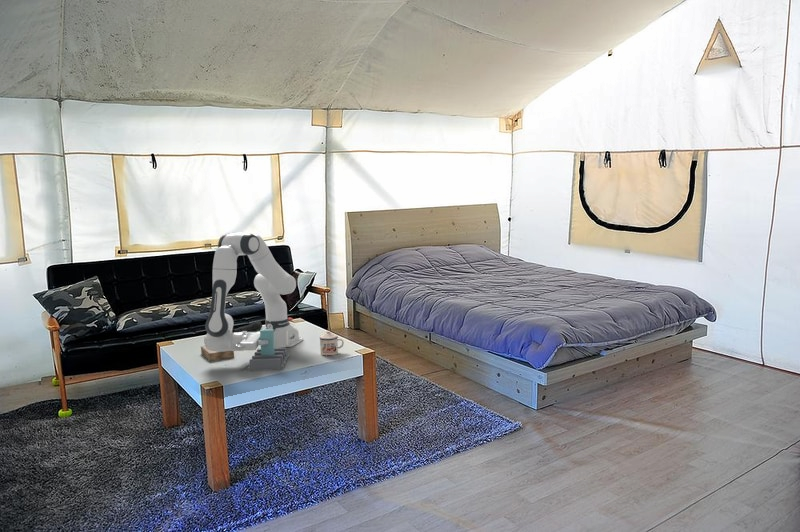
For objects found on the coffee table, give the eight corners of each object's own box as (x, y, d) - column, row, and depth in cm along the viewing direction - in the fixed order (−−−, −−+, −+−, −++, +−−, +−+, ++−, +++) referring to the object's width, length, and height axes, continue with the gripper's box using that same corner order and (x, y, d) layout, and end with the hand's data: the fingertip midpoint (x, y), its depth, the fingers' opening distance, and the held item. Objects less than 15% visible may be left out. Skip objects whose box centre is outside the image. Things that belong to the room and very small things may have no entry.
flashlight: (262, 329, 349) (262, 321, 348) (236, 337, 331) (236, 329, 331) (256, 328, 352) (256, 320, 351) (230, 336, 334) (229, 328, 333)
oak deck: (224, 349, 306) (224, 342, 305) (234, 357, 292) (233, 349, 292) (201, 353, 299) (200, 346, 299) (209, 361, 286) (209, 353, 285)
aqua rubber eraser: (262, 353, 281) (260, 329, 280) (274, 353, 281) (273, 329, 280) (261, 355, 279) (259, 330, 277) (273, 354, 279) (272, 330, 277)
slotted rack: (256, 357, 290) (255, 348, 290) (288, 356, 291) (288, 347, 290) (247, 370, 271) (247, 360, 270) (282, 369, 271) (281, 359, 271)
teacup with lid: (320, 357, 289) (320, 334, 288) (319, 352, 298) (318, 329, 297) (345, 355, 292) (344, 332, 290) (342, 350, 301) (342, 328, 299)
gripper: (234, 340, 268) (264, 340, 268) (244, 330, 288) (272, 329, 289) (235, 354, 269) (265, 353, 269) (244, 342, 289) (273, 341, 290)
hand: (269, 340), depth 279 cm, fingers closed on aqua rubber eraser, 2 cm apart
